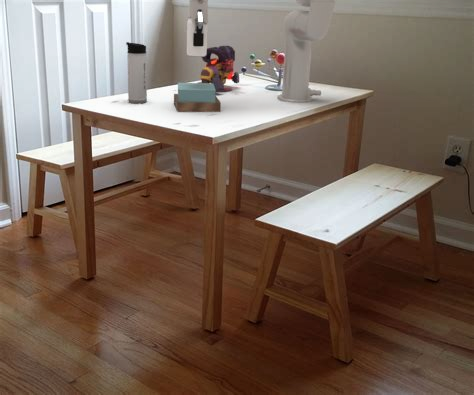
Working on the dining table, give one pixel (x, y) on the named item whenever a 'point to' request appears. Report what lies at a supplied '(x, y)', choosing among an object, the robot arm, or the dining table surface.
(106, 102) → the dining table surface
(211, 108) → the tower base block
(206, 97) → the tower top block
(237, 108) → the dining table surface
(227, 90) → the figurine
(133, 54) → the travel mug
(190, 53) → the can
